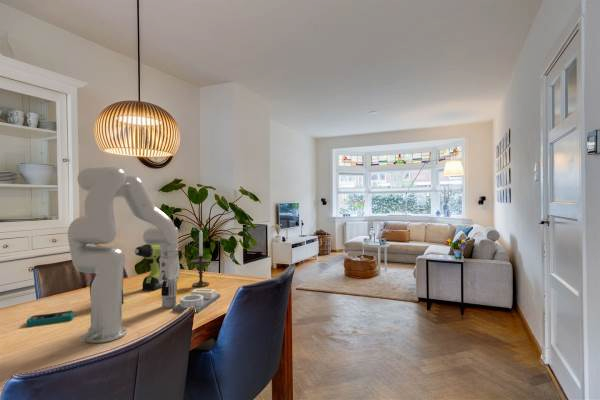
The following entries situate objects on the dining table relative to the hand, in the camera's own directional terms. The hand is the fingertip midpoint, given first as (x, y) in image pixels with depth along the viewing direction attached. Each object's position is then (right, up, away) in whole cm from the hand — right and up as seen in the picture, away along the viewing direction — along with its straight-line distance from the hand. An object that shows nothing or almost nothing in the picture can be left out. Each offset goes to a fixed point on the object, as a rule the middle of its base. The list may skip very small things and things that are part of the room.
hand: (169, 293), depth 150 cm
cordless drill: (-22, -6, +28) cm, 36 cm away
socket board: (+12, -6, +4) cm, 14 cm away
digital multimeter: (-40, -7, -18) cm, 44 cm away
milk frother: (-26, -6, 0) cm, 27 cm away
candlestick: (+3, -7, +38) cm, 39 cm away
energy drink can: (0, -6, 0) cm, 6 cm away
